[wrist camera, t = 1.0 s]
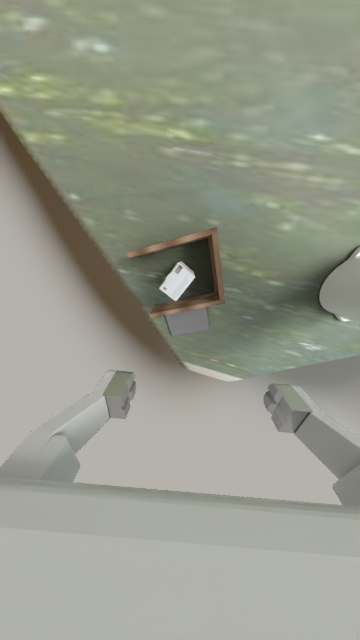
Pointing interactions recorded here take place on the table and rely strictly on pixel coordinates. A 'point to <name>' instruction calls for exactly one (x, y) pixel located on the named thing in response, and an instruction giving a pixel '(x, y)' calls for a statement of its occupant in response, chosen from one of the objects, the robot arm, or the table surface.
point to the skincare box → (177, 281)
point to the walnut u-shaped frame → (218, 295)
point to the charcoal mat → (188, 321)
